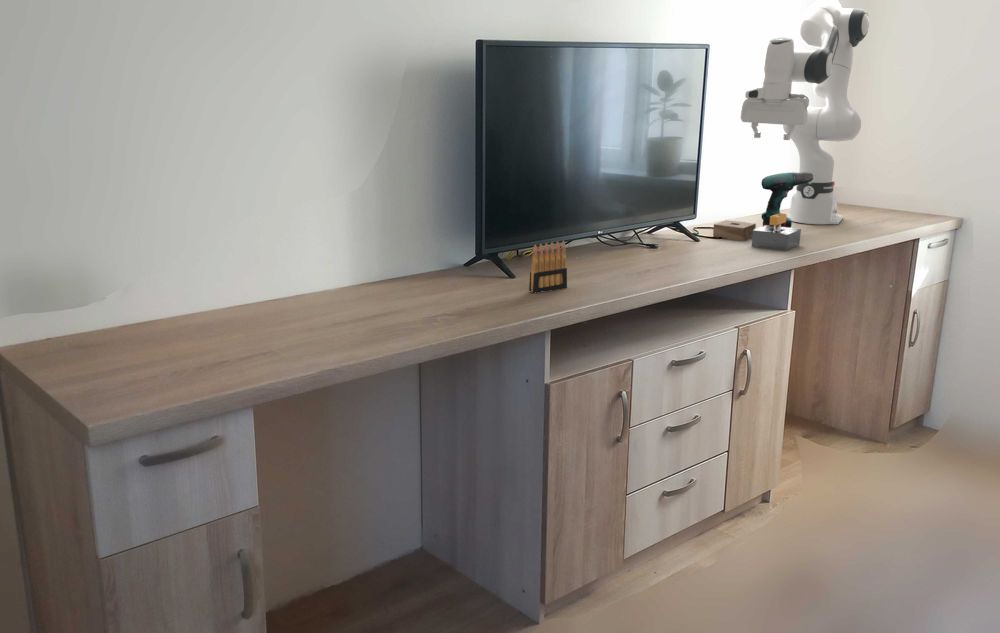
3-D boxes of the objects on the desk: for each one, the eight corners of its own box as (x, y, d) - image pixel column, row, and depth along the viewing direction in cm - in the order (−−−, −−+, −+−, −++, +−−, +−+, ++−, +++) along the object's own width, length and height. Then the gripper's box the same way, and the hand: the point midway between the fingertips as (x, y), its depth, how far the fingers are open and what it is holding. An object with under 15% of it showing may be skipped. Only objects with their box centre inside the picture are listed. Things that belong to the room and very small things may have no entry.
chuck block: (764, 240, 300) (766, 225, 298) (799, 245, 293) (801, 229, 292) (751, 246, 291) (752, 230, 290) (786, 251, 285) (788, 234, 283)
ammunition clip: (533, 293, 232) (534, 245, 229) (528, 292, 233) (529, 244, 230) (567, 287, 238) (568, 240, 235) (562, 286, 239) (563, 239, 236)
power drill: (810, 235, 309) (817, 173, 304) (759, 234, 309) (765, 172, 304) (804, 231, 316) (810, 170, 311) (754, 230, 316) (760, 169, 311)
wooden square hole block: (725, 232, 313) (726, 220, 311) (754, 235, 307) (755, 223, 306) (712, 236, 305) (713, 224, 304) (742, 240, 299) (743, 228, 298)
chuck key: (776, 243, 296) (779, 213, 293) (783, 244, 295) (786, 213, 292) (767, 247, 290) (770, 216, 287) (774, 248, 288) (777, 217, 286)
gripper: (813, 94, 289) (808, 140, 292) (748, 91, 300) (744, 136, 304) (805, 94, 284) (801, 141, 288) (740, 92, 295) (736, 137, 299)
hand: (771, 138), depth 296 cm, fingers open, 8 cm apart
